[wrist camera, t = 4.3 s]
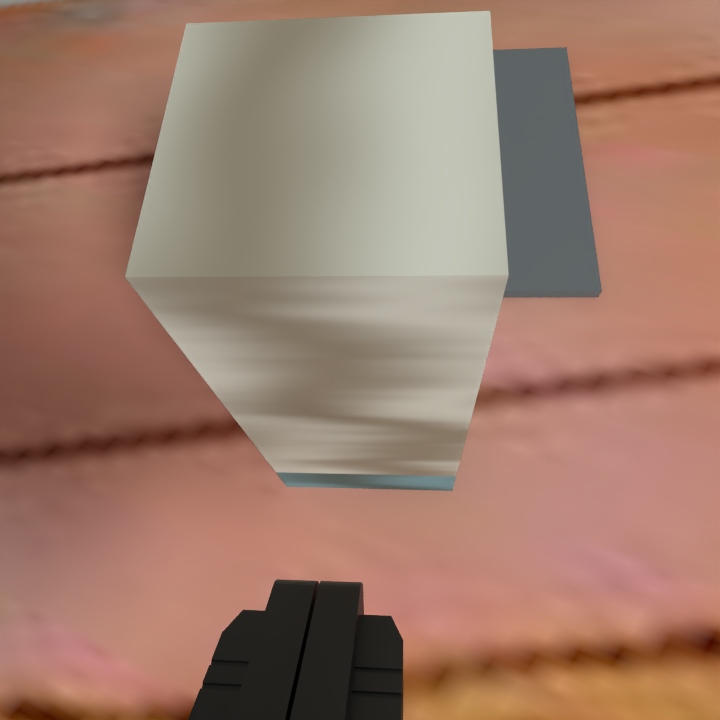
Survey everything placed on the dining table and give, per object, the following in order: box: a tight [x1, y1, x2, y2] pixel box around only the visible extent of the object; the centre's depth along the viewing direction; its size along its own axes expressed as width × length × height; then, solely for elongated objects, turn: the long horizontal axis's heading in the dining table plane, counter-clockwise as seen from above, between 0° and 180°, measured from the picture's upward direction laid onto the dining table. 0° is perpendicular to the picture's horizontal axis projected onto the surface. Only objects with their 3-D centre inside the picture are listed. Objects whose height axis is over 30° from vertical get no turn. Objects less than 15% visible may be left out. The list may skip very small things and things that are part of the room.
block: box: [125, 11, 509, 491], centre depth 17 cm, size 6×6×14 cm
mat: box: [493, 47, 602, 297], centre depth 28 cm, size 18×14×1 cm
